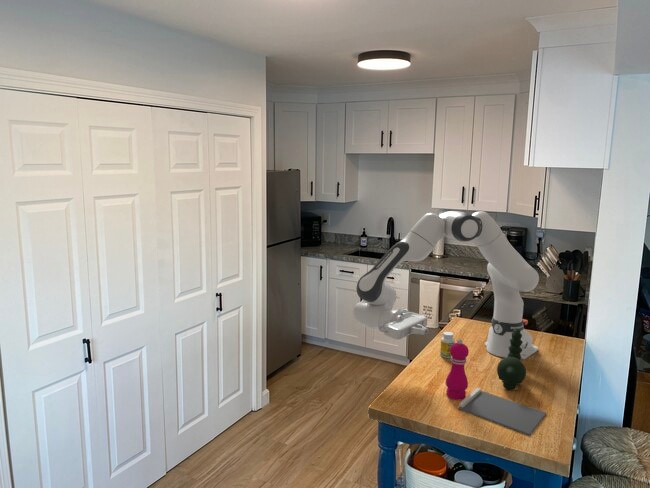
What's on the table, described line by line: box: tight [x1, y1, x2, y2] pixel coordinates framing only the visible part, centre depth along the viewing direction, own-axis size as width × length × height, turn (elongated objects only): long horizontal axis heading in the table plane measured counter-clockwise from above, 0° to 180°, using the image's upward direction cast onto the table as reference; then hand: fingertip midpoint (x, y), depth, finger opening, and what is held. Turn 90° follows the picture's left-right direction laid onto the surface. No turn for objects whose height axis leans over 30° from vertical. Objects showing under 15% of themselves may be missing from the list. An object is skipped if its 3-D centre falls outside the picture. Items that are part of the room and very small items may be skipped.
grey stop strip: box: [459, 387, 482, 407], centre depth 157 cm, size 1×14×2 cm, turn 140°
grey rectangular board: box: [457, 390, 547, 437], centre depth 151 cm, size 22×16×1 cm
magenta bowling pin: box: [445, 338, 469, 401], centre depth 159 cm, size 7×7×20 cm
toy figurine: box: [496, 328, 527, 391], centre depth 170 cm, size 9×19×25 cm
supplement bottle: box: [439, 331, 456, 359], centre depth 192 cm, size 5×5×10 cm
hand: (426, 331), depth 165 cm, fingers closed
